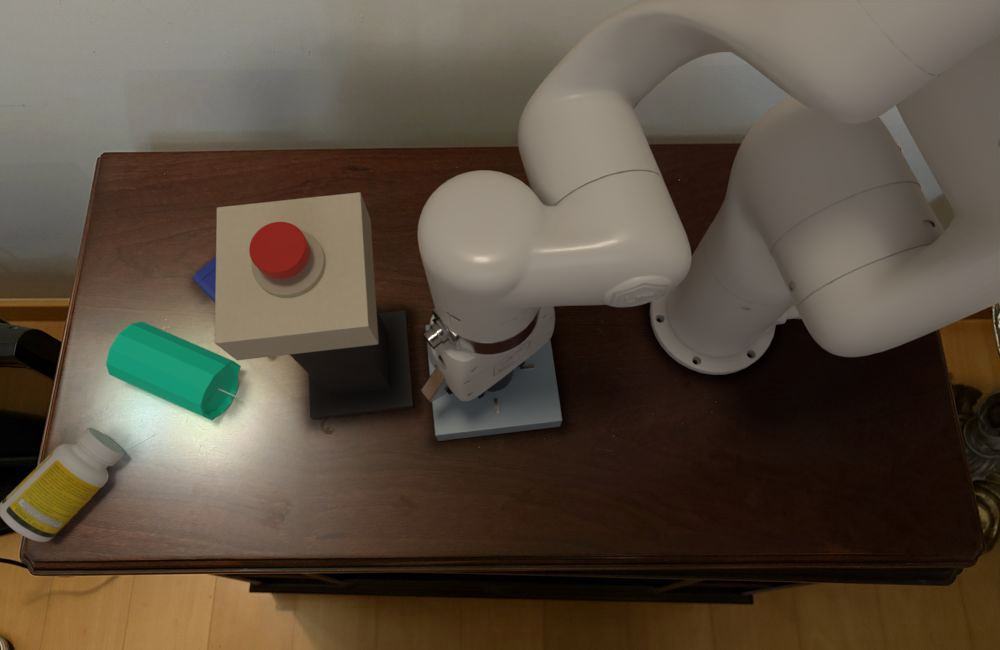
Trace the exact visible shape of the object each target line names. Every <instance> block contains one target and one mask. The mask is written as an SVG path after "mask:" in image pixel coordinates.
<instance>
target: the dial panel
mask: <svg viewBox="0 0 1000 650" xmlns="http://www.w3.org/2000/svg"><path fill="white" fill-rule="evenodd" d="M424 327H425V332H426V331H427V330H428V329H429V324H425V326H424ZM426 348H427V349H426V350H428V346H427V345H426ZM427 357H428V372H429V377H430V376H431V375H432V373H433V372H434V370H435V369H436V367H435V368H434V367H433V365H432V364H431V361H430V358H429V353H428V352H427ZM431 406H432V416H433V427H434V428H433V429H434V436H435V437H436V440H437V441H438V442H440V441H450V440H451V441H452V440H458V439H466V438H475V437H484V436H493V435H500V434H509V433H518V432H527V431H533V430H543V429H551V428H561V425H562V422H563V416H562V415H563V414H562V408H561V402H560V394H559V389H558V381H557V375H556V367H555V361H554V356H553V348H552V341H551V339H550V340H549V341H548V342H547V343H546V344H545V345H544V346H542V347H541V348H540V349H539V350H538V351H536V352H535V353H534V354H533V355H531V356H530V357H529V358H528V359H526V360H525V364H524V365H523V366H522V367H516V368H515V369H514V370H513V376H512V379H511V381H510V383H509V384H508V385H507V386H506V387H505V388H503V389H502V390H499V391H495V392H489V391H485V394H484V396H483V397H482V398H481V399H479V398H478V397H476V398H474V399H472V400H470V401H461V400H460V399H459V398H458V397H457V396H456V395H455V394H450V395H449V394H448V393H447V392H446V393H445V395H444V396H442V397H440V398H438V399H436V400H434V401H432V402H431Z"/></svg>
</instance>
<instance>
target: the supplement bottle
mask: <svg viewBox="0 0 1000 650" xmlns="http://www.w3.org/2000/svg"><path fill="white" fill-rule="evenodd" d="M123 456H124V451H123V449H122V448H121V447H120V446H119V445H118V444H117V443H116V442H115V441H114V440H112V439H111V438H110V437H109V436H108V435H106V434H105V433H103V432H101V431H100V430H98V429H96V428H93V427H88V428H86V429H85V430H84V431H83V432H82V433H81V434H80V435H79V436H78V437H77V438H76V442H75V443H74V444H73V443H63V444H60V445H58V446H56V448H55V449H53V451H51V452H50V453H49V454H48V455H47V456H46V458H45V459H43V461H41V462H40V463H39V464H38V465H37V466H36V467H35V468H34V469H33V470H32V471H31V472H30V473H29V474H28V475H27V476H26V477H25V478H24V479H23V480H21V482H20V483H19V484H18V485H17V486H16V487H15V488H14V489H12V490H11V491H10V492H9V493H8V495H6V496H5V498H4V499H2V500H1V502H0V518H1V519H2V521H3V522H4V523H5V524H6V525H7V526H8V527H9V528H10V529H12V530H13V531H14V532H16V533H17V534H19V535H20V536H23V537H24V538H27V539H29V540H31V541H34V542H39V543H47V542H49V541H51V540H52V539H53V538H54V537H55V536H56V535H57V534H58V533H59V532H61V530H62V529H63V528H64V527H65V526H66V525H67V524H68V523H69V522H70V521H71V520H72V519H73V518H74V517H75V516H76V515H77V514H78V512H80V511H81V509H82V508H84V506H86V504H87V503H89V501H90V500H91V499H92V498H93V497H94V496H96V494H97V493H98V492H99V491H100V490H101V489H102V488H103V487H104V486H105V485H106V484H107V482H108V480H109V471H108V470H107V468H109V467H113V466H114V465H115V464H116V463H117V462H118V461H119V460H120V459H121V458H122V457H123Z"/></svg>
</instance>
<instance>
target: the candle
mask: <svg viewBox="0 0 1000 650" xmlns="http://www.w3.org/2000/svg"><path fill="white" fill-rule="evenodd" d="M105 365H106V369H107V373H108V375H110V376H111V377H114V378H115V379H118V380H120V381H122V382H124V383H127V384H129V385H131V386H134V388H135V387H136V388H138V389H140V390H142V391H144V392H147V393H149V394H151V395H154V396H156V397H157V398H160V399H163V400H165V401H166V402H168V403H171V404H173V405H175V406H178V407H180V408H183V409H185V410H187V411H189V412H191V413H193V414H195V415H198V416H200V417H203V418H205V419H207V420H210V421H214V420H216V419H217V418H219V417H220V416H222V414H223V413H224V412H225V411H226V410H228V408H229V407H230V406H231V405H232V404H233V401H234V399H235V398H236V399H237V398H238V395H237V393H238V390H239V377H240V370H241V367H242V366H241V365H240V364H239V363H237V362H235V361H234V360H232V359H230V358H228V357H225V356H223V355H221V354H218V353H216V352H214V351H211V350H209V349H207V348H205V347H202V346H200V345H198V344H196V343H193V342H191V341H188V340H186V339H184V338H181V337H179V336H177V335H176V334H175V335H174V334H172V333H170V332H168V331H165V330H163V329H161V328H158V327H156V326H154V325H151V324H149V323H147V322H145V321H138V322H134V323H133V322H132V323H130V324H129V325H127V326H126V327H125V328H124V329H123V330H121V331H120V332H119V333H118V334H117V336H116V337H115V339H114V340H113V342H112V344H110V347H109V348H108V353H107V357H106V361H105Z"/></svg>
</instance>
